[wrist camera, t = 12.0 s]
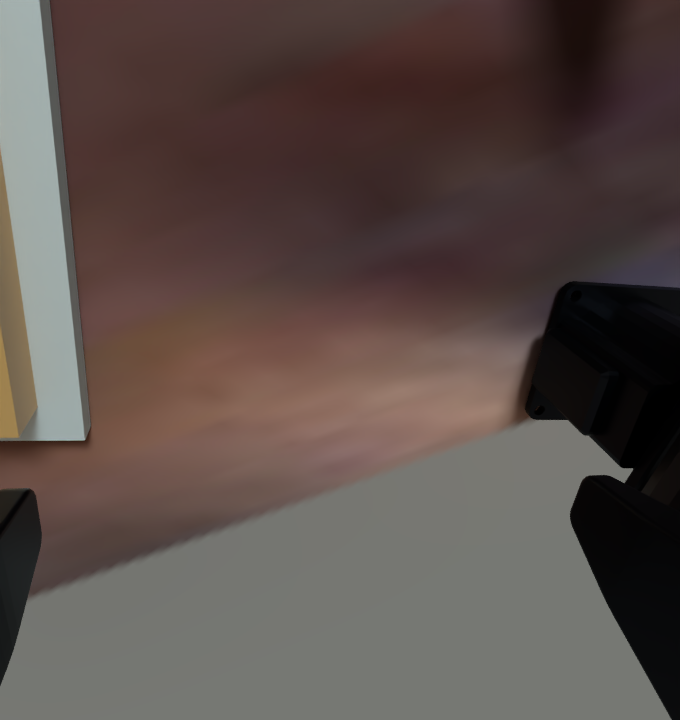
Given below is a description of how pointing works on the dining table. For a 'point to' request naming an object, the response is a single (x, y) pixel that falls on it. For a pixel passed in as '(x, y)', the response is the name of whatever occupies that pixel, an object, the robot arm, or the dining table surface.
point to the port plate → (36, 242)
